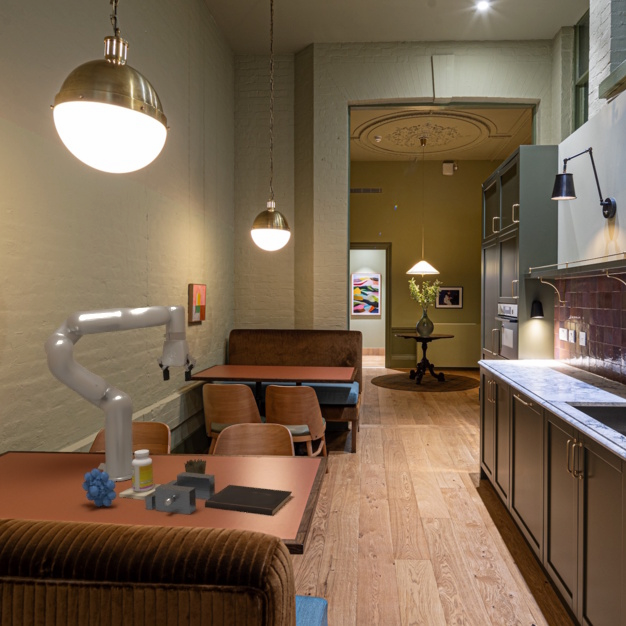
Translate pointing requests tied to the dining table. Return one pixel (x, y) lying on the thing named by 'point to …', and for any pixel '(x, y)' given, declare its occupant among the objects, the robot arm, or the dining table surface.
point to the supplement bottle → (142, 471)
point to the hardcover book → (248, 500)
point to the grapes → (99, 488)
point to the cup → (195, 466)
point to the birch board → (137, 493)
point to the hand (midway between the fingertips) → (177, 380)
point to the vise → (181, 493)
